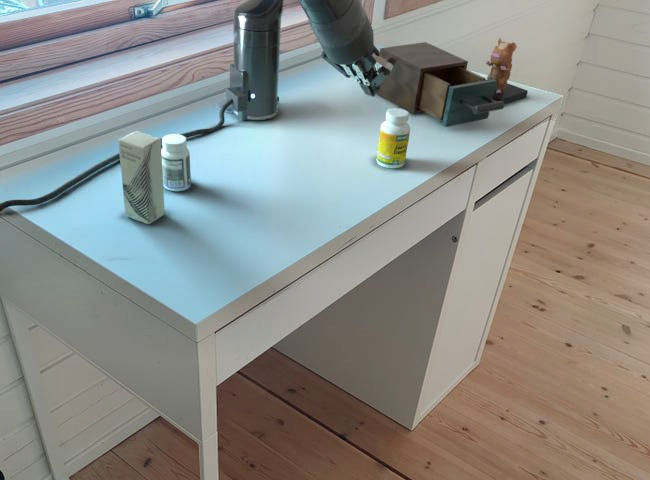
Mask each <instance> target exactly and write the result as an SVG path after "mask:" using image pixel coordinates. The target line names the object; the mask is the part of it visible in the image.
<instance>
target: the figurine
mask: <svg viewBox="0 0 650 480" xmlns="http://www.w3.org/2000/svg"><path fill="white" fill-rule="evenodd" d="M517 48H518V47H517V44H516V42H514V41H512V42H508V41H502V38H501V37H499V39H498V41H497V45H495V46H494V48H493V50H492V51H491V55H490V60H487V61H486V63H485V65H487V66H489V67H491V69H490V72H489V73H488V74H487V77H486V80H491V79H494V80H496V81H497V83H496V87H495V91H494V95H493V100H495V101H497V102H498V101H503V102H504V106H505V105H508V104H510V103H513V102H516V101H519V100H522V99H525V98H527V95H528V92H529V90H527V89H525V88H522V87H518V86H516V85H513V84H511V83H508V80H510V77H511V71H512V69H513V54H514V52H515V51H516V50H517Z"/></svg>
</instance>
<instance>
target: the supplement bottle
mask: <svg viewBox="0 0 650 480" xmlns="http://www.w3.org/2000/svg"><path fill="white" fill-rule="evenodd" d="M385 113H386V114H385V120H384V121H383V122H382V123H381V124H380V129H379V135H378V136H379V137H378V145H377V153H376V162H377V164H378V165H379V166H380V167H383V168H387V169H399V168H402V167H403V166H404V165H405V164H406V157H407V152H408V146H409V141H410V134H411V126H410V123H408V121H409V117H410V113H409V112H408V111H406V110H404V109H402V108H400V107H399V108H397V107H393V108H389V109H386V112H385Z"/></svg>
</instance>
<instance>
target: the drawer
mask: <svg viewBox="0 0 650 480" xmlns="http://www.w3.org/2000/svg"><path fill="white" fill-rule="evenodd" d="M496 83H497V81H496V80H494V79H491V80H487V77H486V78H485V77H483V76H482V75H479V74H477V73H475V72H473V71H471V70H469V69H464V68H462V67H460V66H458V67H452V68H445V69H439V70H433V71H426V72H423V76H422V82H421V88H420V93H419V99H418V105H417V108H419V109H421V110H423V111H424V112H425V113H426V114H428V115H430V116H432V117H433V118H435V119H437V120H439V121H442V123H441V126H442V127H445V128H447V127H452V126H453V127H454V126H458V125H462V124H469V123H473V122H478V121H483V120H487V119H489V115H490V112H494V111H500V110H503V109H504V108H505V105H504V102H503V101H498V102H497V101H495V100H493V95H494V91H495V87H496Z"/></svg>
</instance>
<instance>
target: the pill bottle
mask: <svg viewBox="0 0 650 480" xmlns="http://www.w3.org/2000/svg"><path fill="white" fill-rule="evenodd" d="M179 134H180V133H179ZM179 134H178V133H170V134H167V135H164V136H163V137H162V138H163V139H162V144H161V146H162V148H161V150H162V171H163V188H165V189H166V190H168V191H171V192H183V191H186V190H188V189H189V188H190V187H191V186H192V185H191V184H192V179H191V178H192V175H191V173H192V172H191V156H190V155H191V154H190V150H189V148H188V142H187V141H188V140H187V138H186V137H185V136H183V135H179Z"/></svg>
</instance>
